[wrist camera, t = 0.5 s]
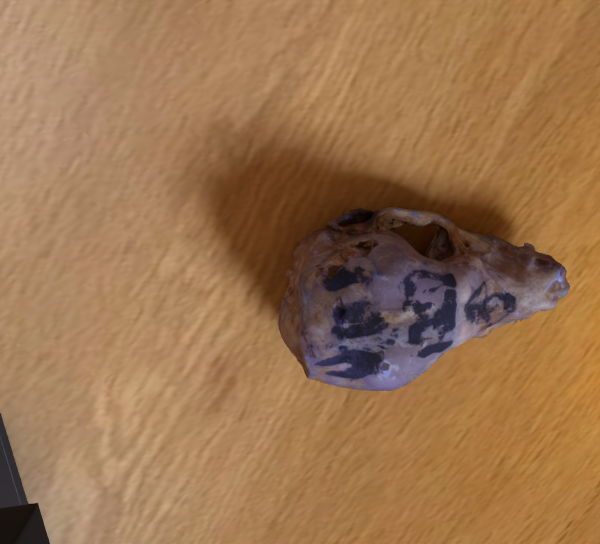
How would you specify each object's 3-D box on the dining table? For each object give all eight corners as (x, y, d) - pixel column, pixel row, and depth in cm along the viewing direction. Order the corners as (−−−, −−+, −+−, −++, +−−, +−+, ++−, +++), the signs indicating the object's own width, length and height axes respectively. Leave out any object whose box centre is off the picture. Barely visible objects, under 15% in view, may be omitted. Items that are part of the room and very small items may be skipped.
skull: (559, 207, 24) (640, 261, 18) (520, 357, 27) (579, 442, 21) (285, 192, 24) (282, 242, 18) (277, 345, 27) (272, 429, 21)
